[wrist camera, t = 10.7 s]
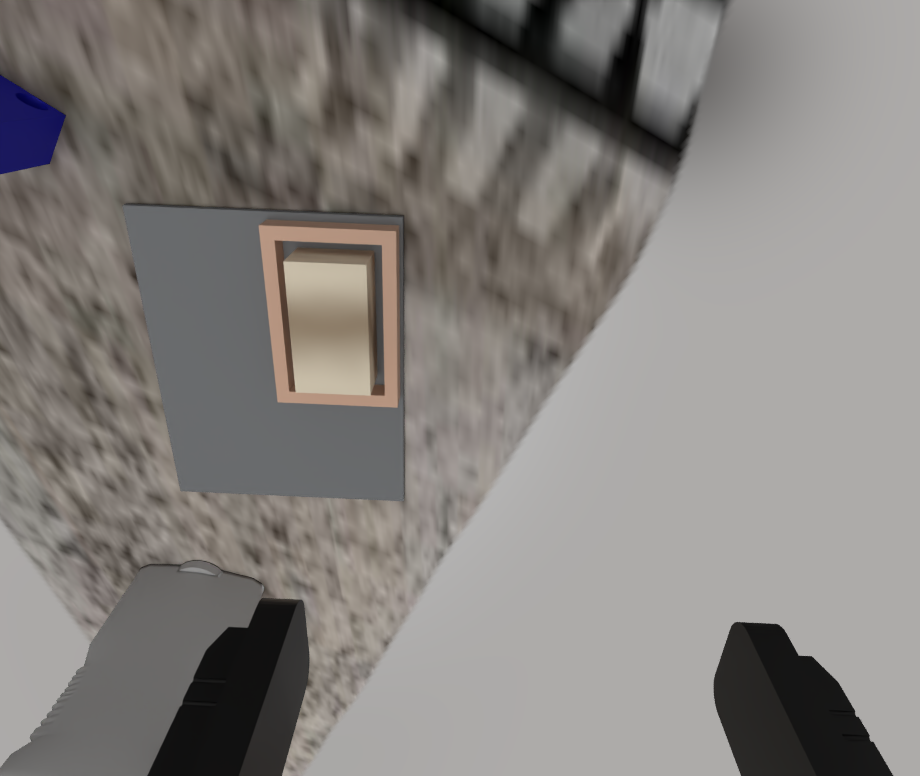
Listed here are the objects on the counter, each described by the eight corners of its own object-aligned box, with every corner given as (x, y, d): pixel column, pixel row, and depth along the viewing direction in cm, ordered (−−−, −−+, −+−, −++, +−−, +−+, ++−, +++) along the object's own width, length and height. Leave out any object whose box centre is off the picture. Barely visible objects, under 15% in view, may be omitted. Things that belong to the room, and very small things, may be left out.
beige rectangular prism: (377, 374, 40) (370, 395, 37) (307, 371, 40) (295, 392, 37) (374, 250, 36) (366, 264, 34) (297, 247, 36) (283, 261, 34)
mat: (126, 203, 36) (122, 205, 35) (403, 215, 36) (402, 217, 35) (183, 486, 45) (180, 491, 45) (404, 496, 45) (403, 501, 44)
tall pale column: (136, 589, 50) (-86, 927, 30) (131, 550, 48) (-107, 883, 28) (269, 607, 50) (136, 950, 31) (270, 569, 48) (129, 908, 29)
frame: (266, 219, 36) (258, 225, 34) (399, 225, 36) (396, 231, 34) (284, 391, 41) (277, 402, 39) (400, 396, 41) (397, 407, 39)
